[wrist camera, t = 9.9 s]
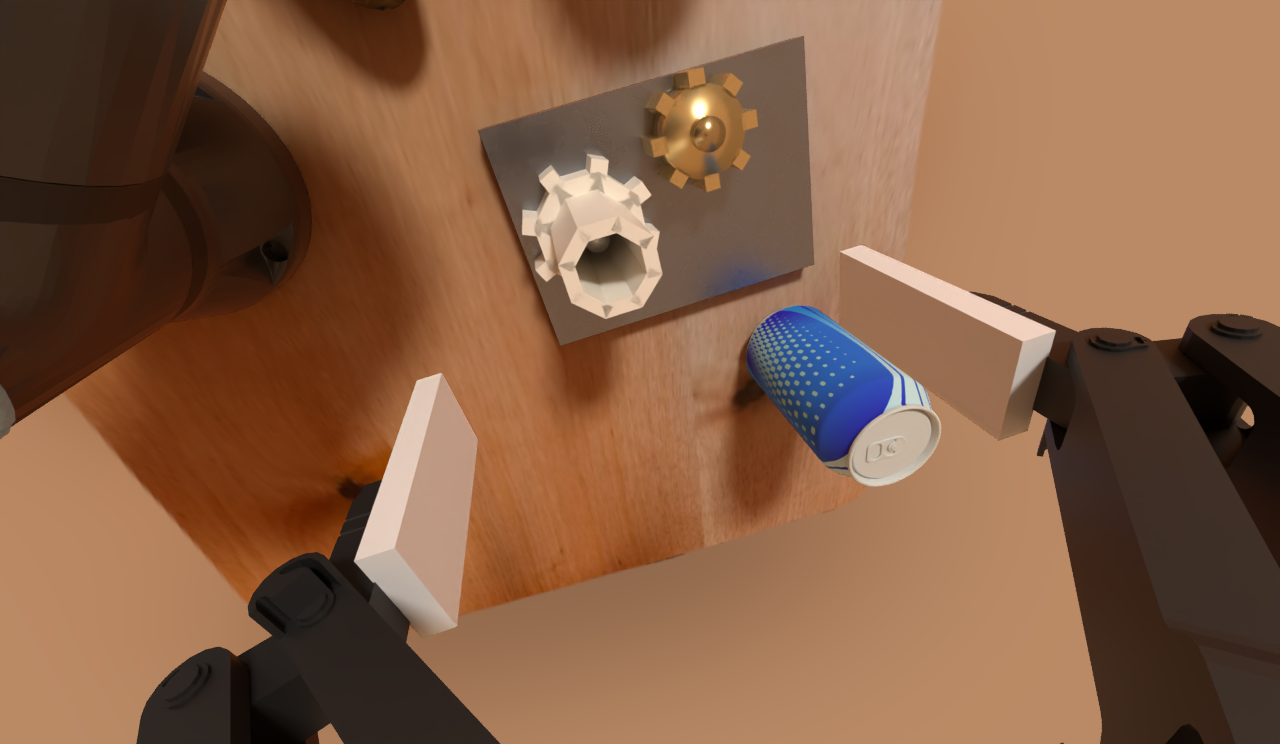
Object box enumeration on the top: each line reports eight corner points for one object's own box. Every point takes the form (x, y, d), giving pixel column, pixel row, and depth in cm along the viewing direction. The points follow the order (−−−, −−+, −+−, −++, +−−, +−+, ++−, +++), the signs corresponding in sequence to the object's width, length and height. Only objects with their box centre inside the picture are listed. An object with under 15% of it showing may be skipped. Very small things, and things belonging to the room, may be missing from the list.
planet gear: (549, 299, 36) (558, 365, 27) (504, 178, 32) (497, 210, 23) (660, 264, 37) (704, 318, 28) (632, 140, 32) (674, 157, 23)
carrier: (559, 337, 40) (564, 373, 35) (479, 129, 31) (471, 135, 26) (805, 259, 41) (845, 282, 36) (792, 38, 33) (843, 27, 27)
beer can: (775, 284, 42) (897, 376, 28) (841, 321, 45) (978, 418, 31) (723, 363, 45) (811, 480, 31) (788, 391, 48) (894, 508, 34)
